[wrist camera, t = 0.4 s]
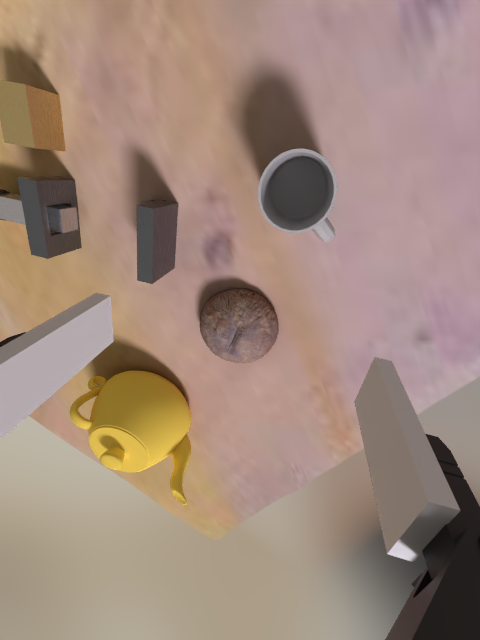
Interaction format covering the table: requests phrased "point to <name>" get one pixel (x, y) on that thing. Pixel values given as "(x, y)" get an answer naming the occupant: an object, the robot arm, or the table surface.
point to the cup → (299, 193)
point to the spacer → (31, 117)
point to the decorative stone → (239, 325)
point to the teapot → (137, 423)
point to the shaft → (59, 215)
